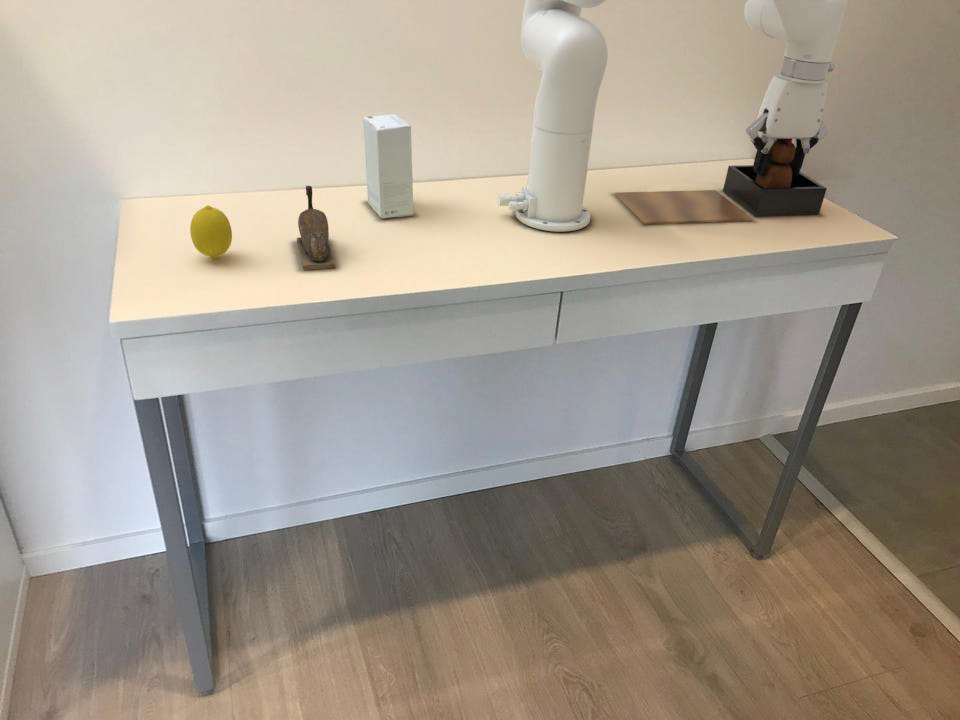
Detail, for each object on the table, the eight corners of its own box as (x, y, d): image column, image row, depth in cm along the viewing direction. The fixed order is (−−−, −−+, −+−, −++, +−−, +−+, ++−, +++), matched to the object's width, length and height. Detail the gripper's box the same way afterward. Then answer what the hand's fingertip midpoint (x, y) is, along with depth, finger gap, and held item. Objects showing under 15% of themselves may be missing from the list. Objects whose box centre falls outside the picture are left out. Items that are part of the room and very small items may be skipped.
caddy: (755, 216, 140) (762, 189, 137) (722, 191, 150) (728, 165, 148) (818, 214, 143) (827, 188, 140) (782, 189, 153) (789, 164, 150)
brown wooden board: (644, 224, 134) (644, 222, 134) (615, 194, 146) (615, 192, 145) (751, 221, 138) (752, 218, 138) (715, 192, 150) (715, 190, 150)
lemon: (197, 269, 111) (189, 215, 107) (192, 253, 115) (184, 200, 111) (237, 264, 113) (231, 211, 109) (231, 248, 117) (225, 197, 113)
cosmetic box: (414, 216, 132) (415, 126, 124) (378, 220, 129) (377, 129, 122) (398, 198, 138) (398, 112, 130) (364, 201, 136) (362, 114, 128)
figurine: (294, 231, 124) (290, 177, 119) (323, 229, 125) (320, 176, 120) (303, 270, 113) (299, 212, 108) (335, 268, 114) (332, 211, 109)
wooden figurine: (748, 193, 149) (769, 113, 141) (780, 197, 149) (802, 116, 141) (754, 206, 144) (776, 123, 136) (787, 210, 143) (811, 127, 135)
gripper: (835, 65, 139) (806, 166, 148) (746, 63, 135) (722, 166, 145) (861, 76, 133) (829, 180, 142) (769, 74, 129) (742, 181, 138)
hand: (775, 172), depth 143 cm, fingers closed on wooden figurine, 6 cm apart
